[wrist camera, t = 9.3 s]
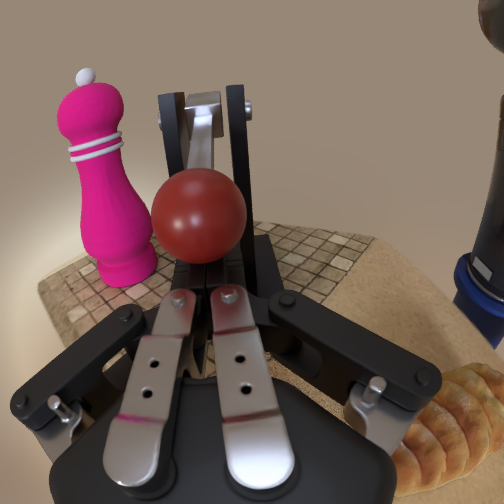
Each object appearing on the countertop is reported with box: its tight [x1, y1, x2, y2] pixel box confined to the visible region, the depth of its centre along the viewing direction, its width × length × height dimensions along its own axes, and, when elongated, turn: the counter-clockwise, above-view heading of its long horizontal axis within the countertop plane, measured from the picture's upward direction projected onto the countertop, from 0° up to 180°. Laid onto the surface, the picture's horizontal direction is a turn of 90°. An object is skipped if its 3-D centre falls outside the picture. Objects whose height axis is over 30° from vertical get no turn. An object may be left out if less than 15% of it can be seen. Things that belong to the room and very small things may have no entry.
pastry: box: [391, 363, 504, 497], centre depth 10 cm, size 9×7×4 cm
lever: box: [151, 91, 247, 264], centre depth 14 cm, size 13×4×4 cm, turn 5°
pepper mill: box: [57, 68, 157, 287], centre depth 22 cm, size 7×7×20 cm
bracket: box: [158, 84, 284, 340], centre depth 20 cm, size 12×9×16 cm
